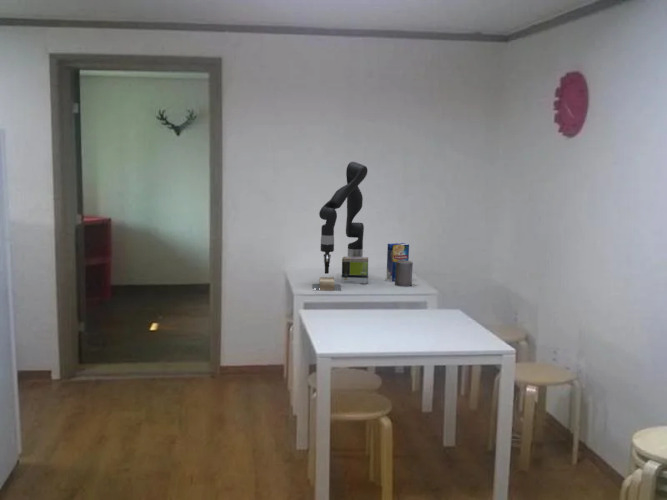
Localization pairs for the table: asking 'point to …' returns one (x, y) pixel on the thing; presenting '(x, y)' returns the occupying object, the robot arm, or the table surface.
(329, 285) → the block
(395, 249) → the blue food box
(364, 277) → the tea box
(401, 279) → the pillar candle
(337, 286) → the mat
